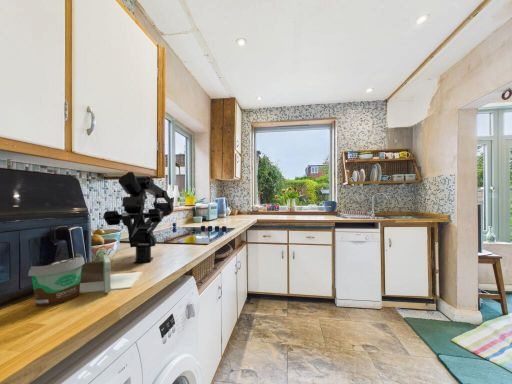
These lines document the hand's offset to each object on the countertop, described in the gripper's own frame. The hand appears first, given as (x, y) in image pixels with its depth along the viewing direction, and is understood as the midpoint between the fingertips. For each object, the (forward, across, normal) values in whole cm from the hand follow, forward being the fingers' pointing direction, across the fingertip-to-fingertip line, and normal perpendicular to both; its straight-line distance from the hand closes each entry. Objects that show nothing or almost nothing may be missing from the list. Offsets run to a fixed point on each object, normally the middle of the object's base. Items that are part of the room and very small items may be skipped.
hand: (130, 236), depth 81 cm
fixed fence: (+14, -9, +2) cm, 17 cm away
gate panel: (+18, -3, -3) cm, 18 cm away
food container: (+22, -10, -7) cm, 25 cm away
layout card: (+15, -5, +1) cm, 16 cm away
